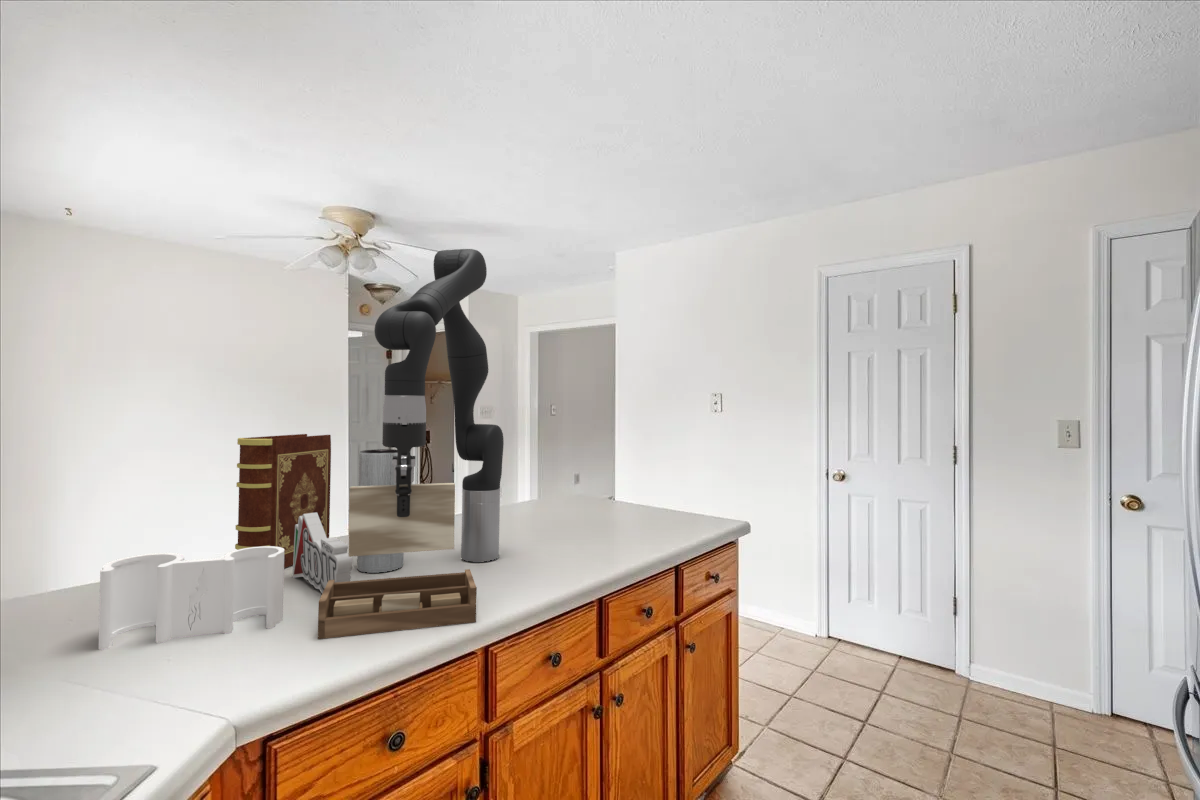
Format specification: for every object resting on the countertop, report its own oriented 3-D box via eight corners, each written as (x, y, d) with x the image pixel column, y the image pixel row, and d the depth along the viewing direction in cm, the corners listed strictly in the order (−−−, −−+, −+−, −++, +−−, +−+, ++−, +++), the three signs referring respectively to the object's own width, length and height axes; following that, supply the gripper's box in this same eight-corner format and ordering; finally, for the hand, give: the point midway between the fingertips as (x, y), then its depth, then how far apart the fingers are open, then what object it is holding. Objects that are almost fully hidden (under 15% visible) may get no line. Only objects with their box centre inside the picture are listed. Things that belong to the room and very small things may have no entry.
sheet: (350, 553, 100) (350, 486, 100) (453, 545, 106) (454, 482, 106) (348, 556, 98) (349, 488, 98) (454, 549, 104) (454, 484, 104)
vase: (408, 569, 128) (410, 451, 128) (362, 576, 123) (364, 453, 123) (397, 559, 136) (399, 448, 137) (353, 565, 131) (355, 450, 131)
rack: (328, 613, 101) (328, 580, 101) (469, 600, 109) (469, 569, 109) (317, 639, 90) (318, 601, 90) (475, 622, 98) (476, 587, 98)
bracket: (286, 609, 103) (288, 543, 103) (278, 629, 94) (280, 557, 94) (116, 628, 93) (118, 555, 93) (89, 652, 84) (91, 571, 84)
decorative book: (259, 578, 120) (262, 439, 120) (228, 575, 122) (231, 438, 122) (329, 552, 142) (332, 434, 142) (302, 549, 144) (305, 433, 144)
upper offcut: (383, 606, 97) (384, 594, 97) (419, 604, 99) (420, 592, 99) (381, 611, 95) (381, 599, 95) (418, 609, 96) (418, 597, 96)
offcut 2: (430, 617, 100) (430, 595, 100) (459, 614, 101) (459, 592, 101) (430, 623, 97) (431, 600, 97) (460, 620, 99) (460, 597, 99)
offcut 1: (335, 627, 95) (335, 601, 95) (373, 623, 97) (373, 597, 97) (333, 634, 92) (333, 606, 92) (372, 629, 94) (372, 603, 94)
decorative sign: (349, 611, 108) (354, 535, 107) (334, 615, 106) (339, 537, 105) (305, 574, 124) (309, 507, 123) (292, 576, 122) (295, 509, 121)
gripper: (384, 419, 107) (383, 508, 107) (380, 422, 94) (379, 524, 94) (425, 419, 110) (424, 507, 110) (427, 422, 97) (425, 521, 97)
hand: (403, 514), depth 102 cm, fingers closed on sheet, 2 cm apart
